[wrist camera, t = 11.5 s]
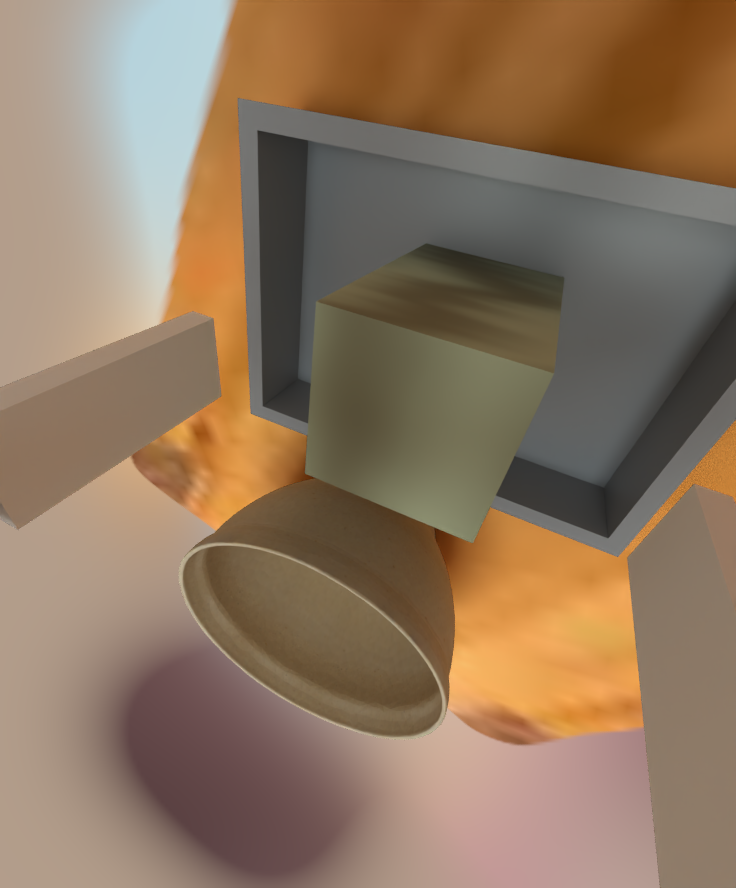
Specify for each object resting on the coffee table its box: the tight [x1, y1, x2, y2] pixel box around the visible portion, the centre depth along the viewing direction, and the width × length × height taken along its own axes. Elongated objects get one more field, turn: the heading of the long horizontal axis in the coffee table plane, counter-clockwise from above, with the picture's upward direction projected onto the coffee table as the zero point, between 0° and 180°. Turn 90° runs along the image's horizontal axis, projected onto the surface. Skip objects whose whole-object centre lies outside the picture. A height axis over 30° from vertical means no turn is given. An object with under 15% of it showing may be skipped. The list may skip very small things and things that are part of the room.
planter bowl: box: [178, 478, 455, 740], centre depth 26 cm, size 16×16×11 cm
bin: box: [238, 98, 736, 557], centre depth 18 cm, size 20×14×4 cm
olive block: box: [305, 243, 564, 543], centre depth 15 cm, size 6×6×10 cm
